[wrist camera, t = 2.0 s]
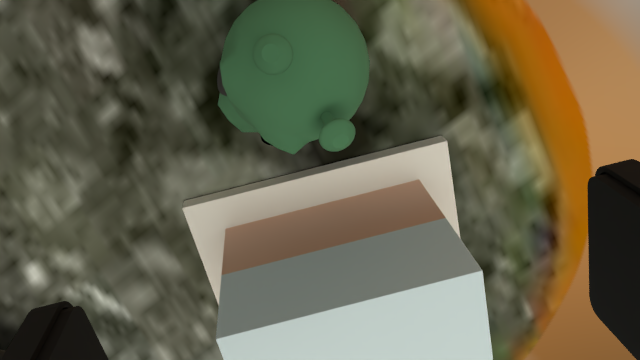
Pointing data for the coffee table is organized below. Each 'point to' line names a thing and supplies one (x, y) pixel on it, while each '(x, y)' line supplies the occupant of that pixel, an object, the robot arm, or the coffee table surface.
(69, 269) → the coffee table surface
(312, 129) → the alien toy
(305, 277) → the brick tower
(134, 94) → the coffee table surface
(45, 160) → the coffee table surface
